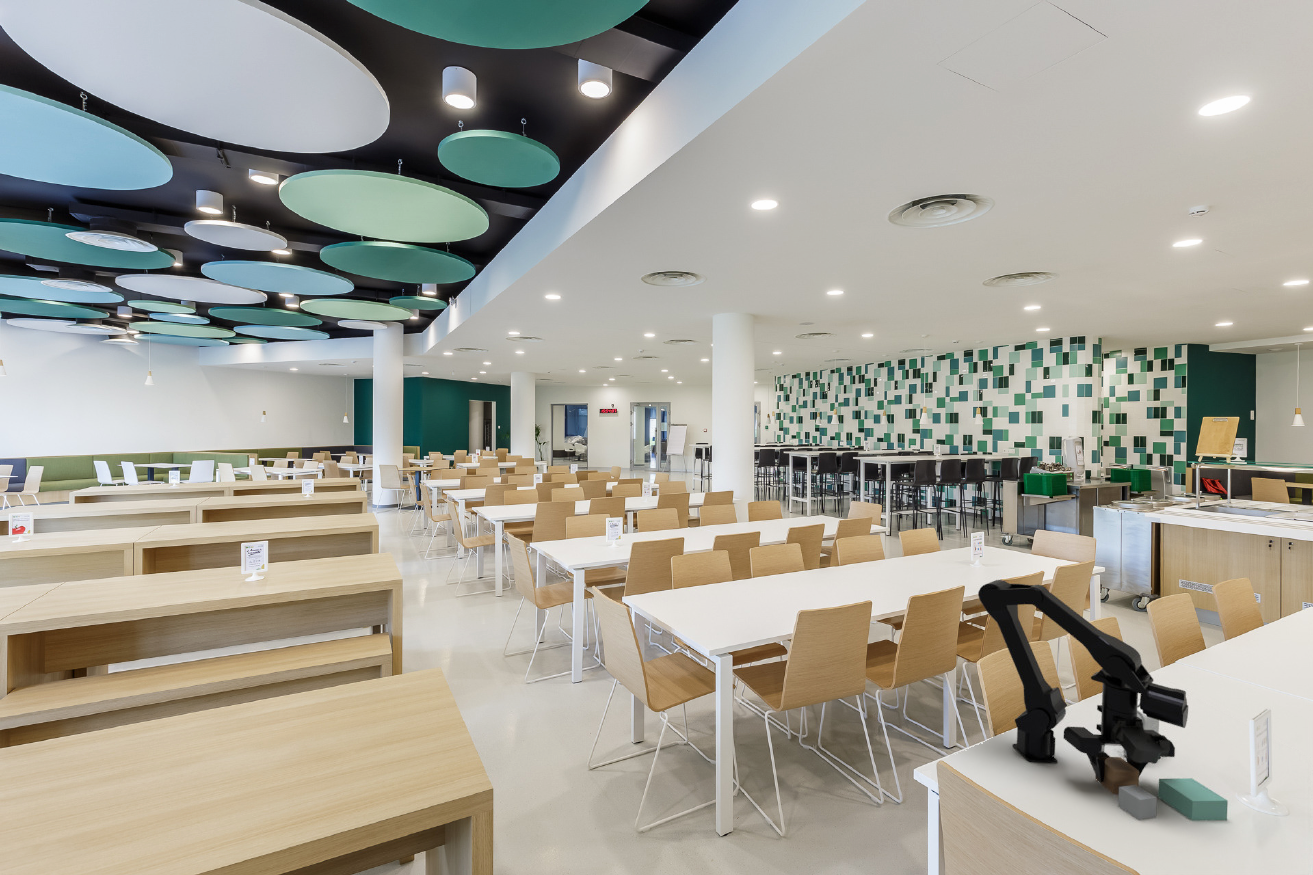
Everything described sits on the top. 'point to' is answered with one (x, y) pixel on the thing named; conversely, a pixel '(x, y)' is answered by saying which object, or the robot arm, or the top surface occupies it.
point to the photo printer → (1146, 721)
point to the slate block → (1137, 802)
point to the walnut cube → (1119, 774)
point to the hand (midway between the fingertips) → (1116, 781)
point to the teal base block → (1193, 799)
